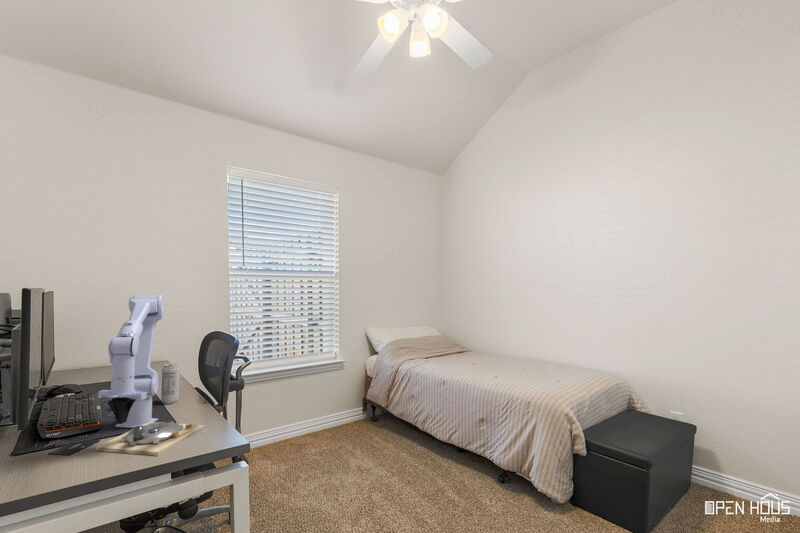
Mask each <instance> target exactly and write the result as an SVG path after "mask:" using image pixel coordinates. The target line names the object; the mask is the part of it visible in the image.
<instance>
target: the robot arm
mask: <svg viewBox="0 0 800 533" xmlns="http://www.w3.org/2000/svg"><path fill="white" fill-rule="evenodd" d="M128 309H129V312H130V316H129V318H128V320H126V321H125V322H123V323H122V325H121V327H120V329H119V331H118V333H117V335H116V337H114V338H112V339H111V340H110V341H109V343H108V349H107V351H108V356H109V363H110V364H111V372H110V374H111V376H110V389H101V390H99V391H98V399H102V398H107V399H108V398H109V399H111V400H108V401H107V405H108V406H109V407H110V409H111V410H112V413H113V415H114V418H115V422H116V425H115V427H116V428H127V429H128V428H131V429H133V428H134V427H136V426H141V425H144V424H146V423H148V422H158V421H159V418H155V417H153V416H152V415H153V398H152V396H153V395H154V396H156V394H157V393H158V389H159V374H158V372H157V371H156V370H154V369H153V368H152V367H151V364H152V356H153V348H154V342H155V340H154V339H155V334H156V326H157V323H158V321H161V320H162V319H163V316H164V311H165V297H164V295H163V294H157V295H156V294H153V295H152V294H151V295H150V294H149V295H148V294H145V295H144V294H142V295H138V294H132V295H131V296H130V297H129V299H128Z"/></svg>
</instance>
